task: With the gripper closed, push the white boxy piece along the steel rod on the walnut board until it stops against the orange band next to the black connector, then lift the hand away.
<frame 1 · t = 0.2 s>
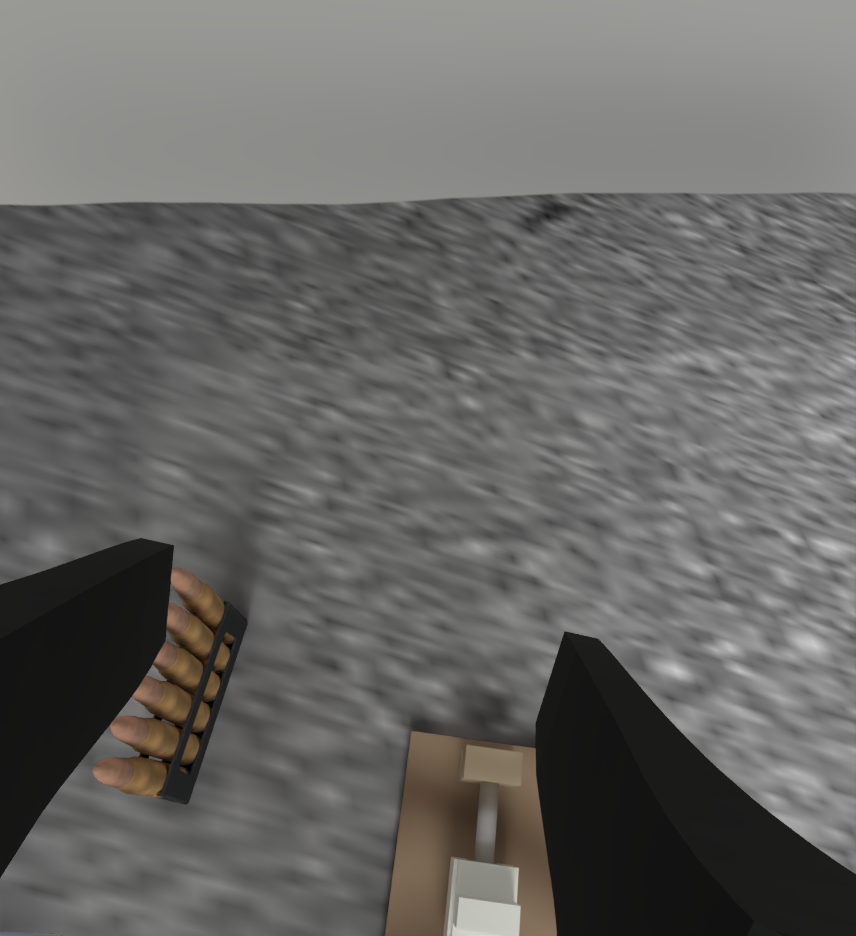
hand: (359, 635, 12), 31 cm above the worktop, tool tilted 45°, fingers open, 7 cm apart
ammunition clip: (205, 704, 41), on the worktop
white boxy piece: (482, 911, 33), point 5 cm above the worktop, slide at 0.0 cm
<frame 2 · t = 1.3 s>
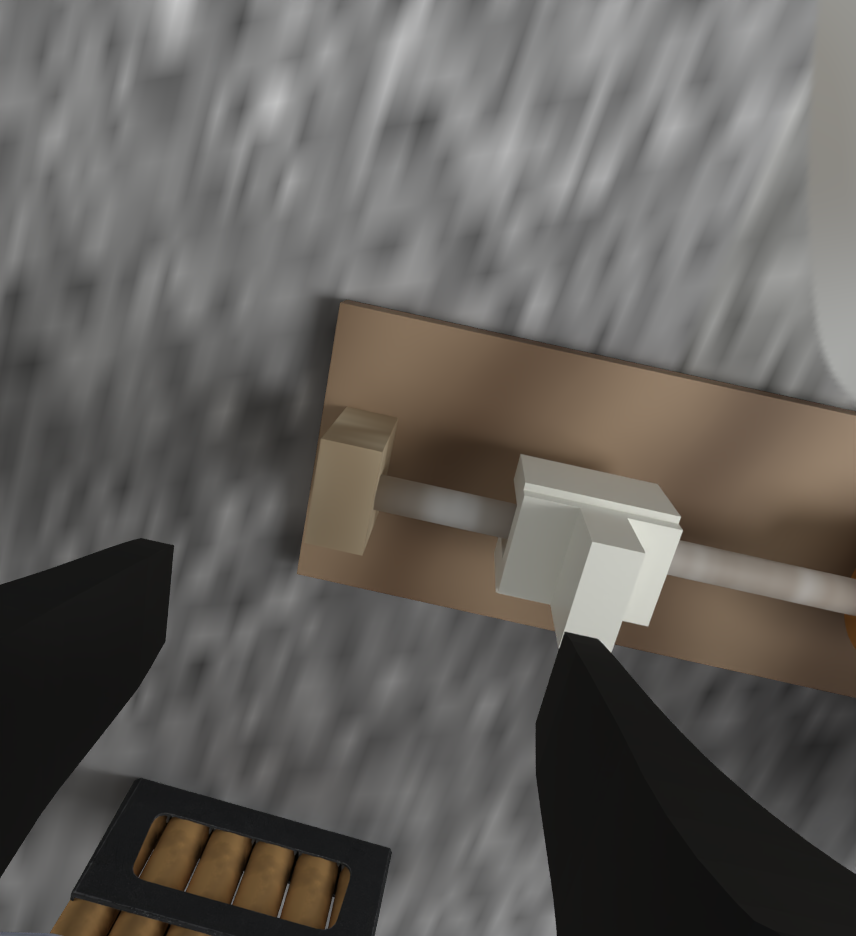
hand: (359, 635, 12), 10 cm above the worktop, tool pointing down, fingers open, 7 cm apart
rail board: (685, 518, 22), on the worktop
ammunition clip: (262, 825, 28), on the worktop
white boxy piece: (585, 555, 18), point 5 cm above the worktop, slide at 0.0 cm
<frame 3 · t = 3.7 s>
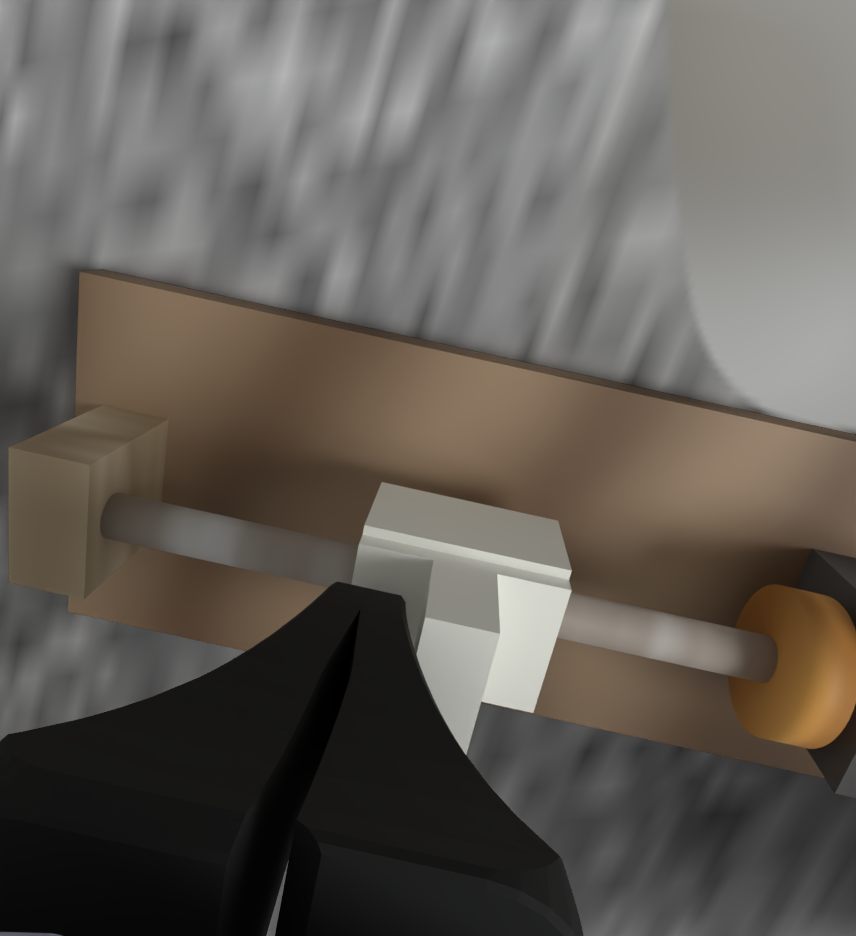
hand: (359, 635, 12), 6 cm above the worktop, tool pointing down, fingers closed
rail board: (543, 543, 18), on the worktop
white boxy piece: (450, 620, 13), point 5 cm above the worktop, slide at 1.7 cm, touching gripper
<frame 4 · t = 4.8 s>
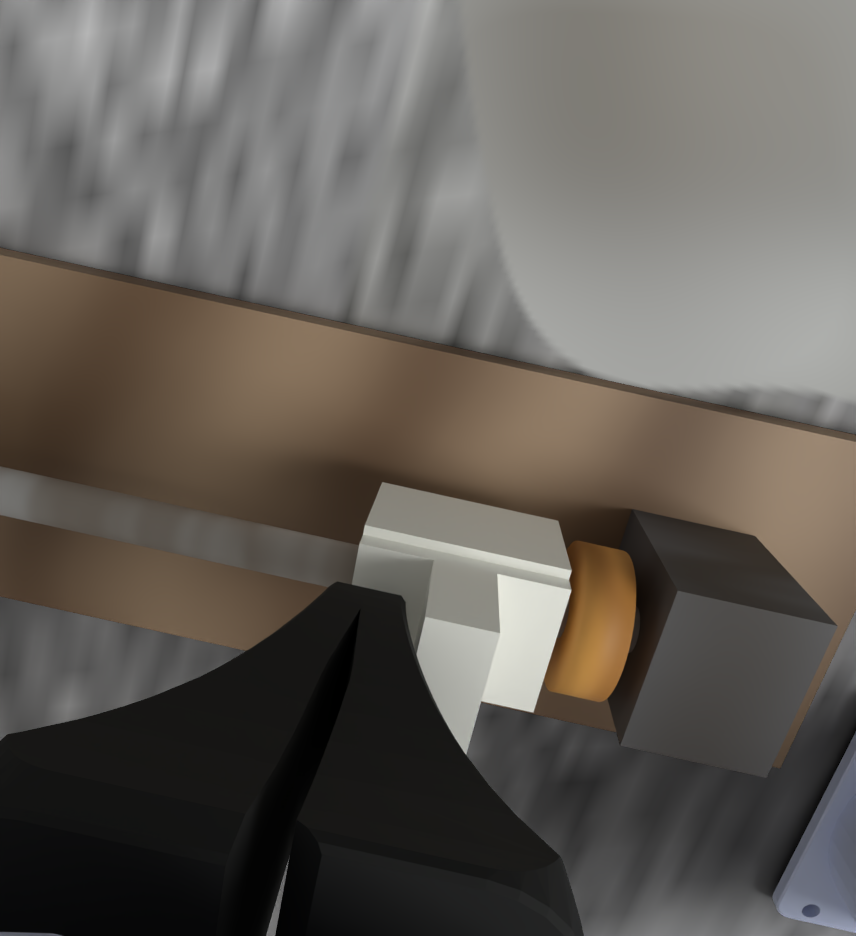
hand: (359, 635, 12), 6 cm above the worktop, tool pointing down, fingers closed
rail board: (379, 507, 18), on the worktop
white boxy piece: (450, 619, 13), point 5 cm above the worktop, slide at 6.1 cm, touching gripper
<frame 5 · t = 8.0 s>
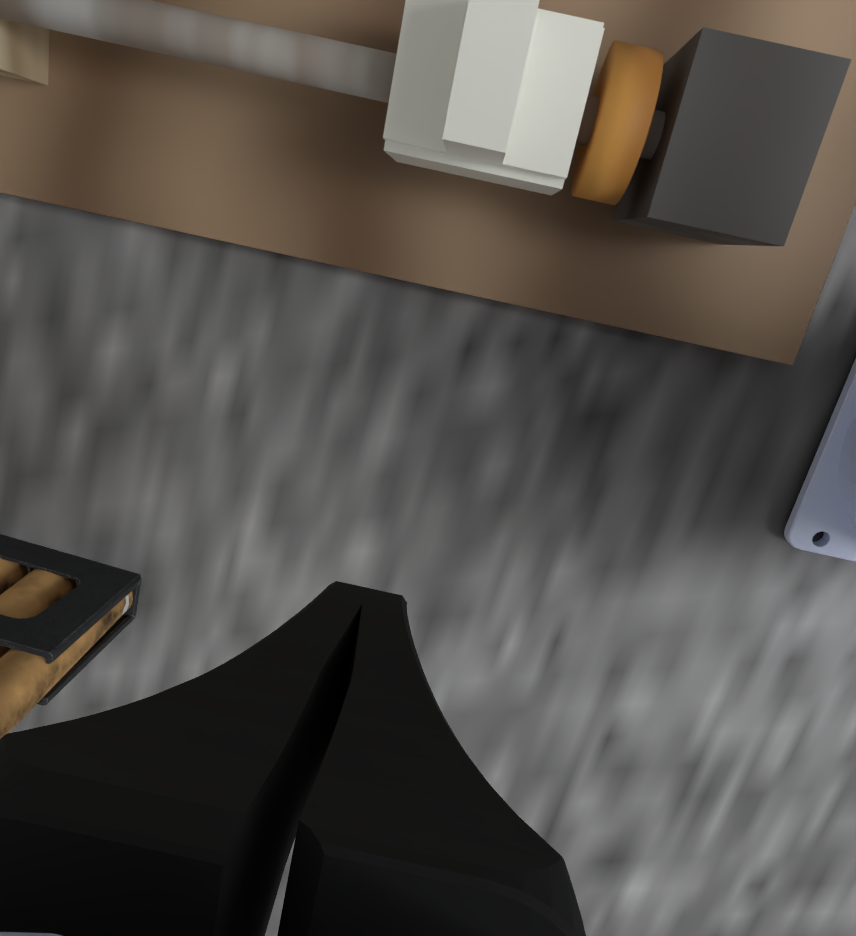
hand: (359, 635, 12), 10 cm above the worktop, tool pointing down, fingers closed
rail board: (413, 107, 19), on the worktop
white boxy piece: (489, 88, 14), point 5 cm above the worktop, slide at 6.1 cm
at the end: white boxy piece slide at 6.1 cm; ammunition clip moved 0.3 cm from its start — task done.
